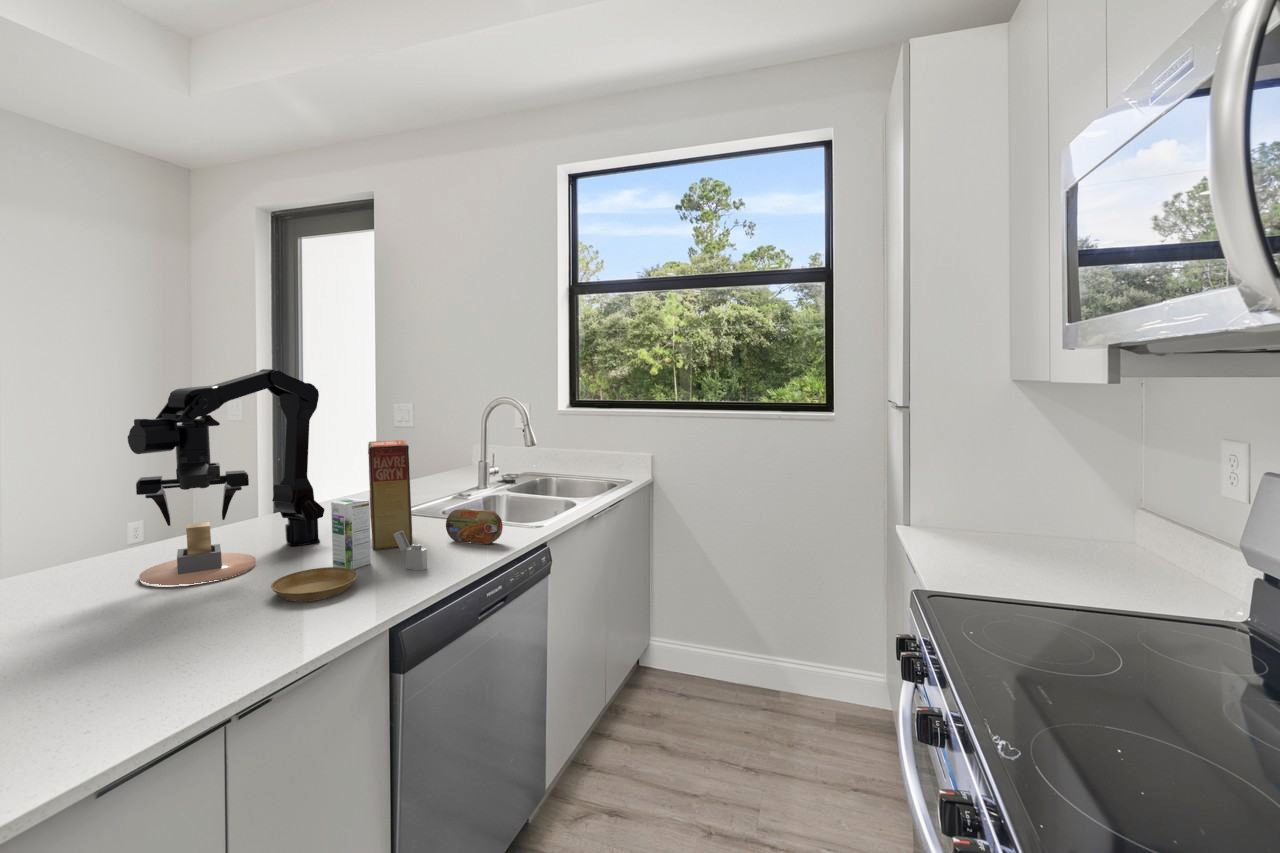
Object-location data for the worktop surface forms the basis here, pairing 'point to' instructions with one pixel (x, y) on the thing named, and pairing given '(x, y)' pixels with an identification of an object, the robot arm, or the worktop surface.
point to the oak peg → (198, 538)
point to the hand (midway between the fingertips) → (196, 522)
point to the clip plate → (198, 567)
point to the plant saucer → (314, 583)
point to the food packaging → (389, 492)
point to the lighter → (412, 552)
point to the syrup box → (351, 533)
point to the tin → (474, 526)
